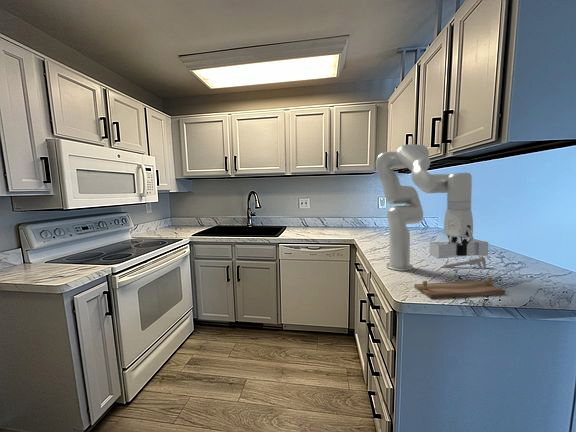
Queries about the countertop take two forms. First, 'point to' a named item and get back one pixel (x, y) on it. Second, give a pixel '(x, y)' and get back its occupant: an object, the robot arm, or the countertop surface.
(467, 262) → the caliper
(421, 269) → the countertop surface
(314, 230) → the countertop surface
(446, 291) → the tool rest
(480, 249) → the light grey block
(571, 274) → the countertop surface
